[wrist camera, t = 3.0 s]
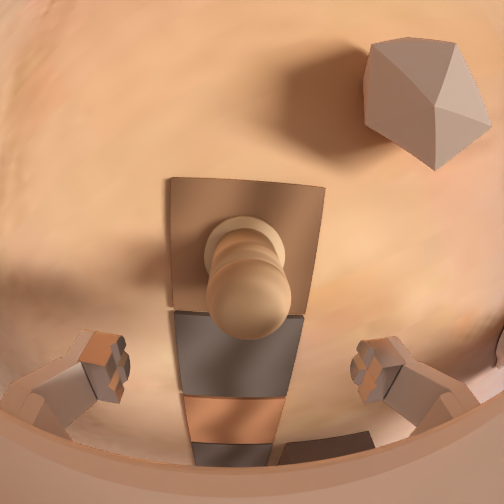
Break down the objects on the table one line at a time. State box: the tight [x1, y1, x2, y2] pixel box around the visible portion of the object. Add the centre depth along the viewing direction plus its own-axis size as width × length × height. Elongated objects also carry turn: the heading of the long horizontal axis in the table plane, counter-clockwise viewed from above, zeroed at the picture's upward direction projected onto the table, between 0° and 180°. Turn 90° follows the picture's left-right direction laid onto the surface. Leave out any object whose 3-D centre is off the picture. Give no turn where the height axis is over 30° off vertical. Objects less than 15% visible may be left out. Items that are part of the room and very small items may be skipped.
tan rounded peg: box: [204, 215, 291, 340], centre depth 15 cm, size 5×5×8 cm
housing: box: [278, 431, 375, 466], centre depth 29 cm, size 12×12×5 cm
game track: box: [170, 177, 326, 467], centre depth 24 cm, size 10×40×1 cm, turn 176°
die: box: [363, 37, 492, 171], centre depth 12 cm, size 8×9×10 cm
